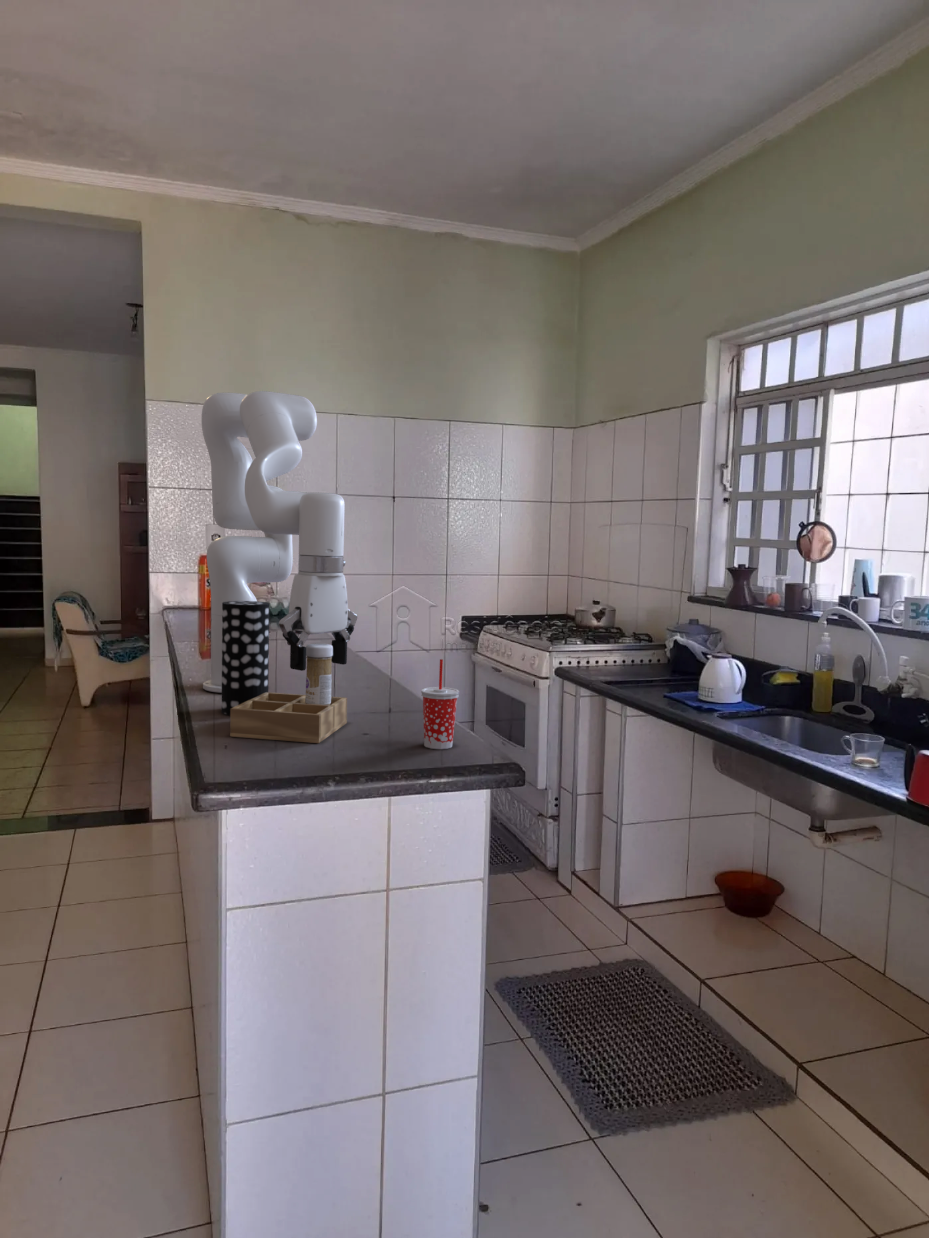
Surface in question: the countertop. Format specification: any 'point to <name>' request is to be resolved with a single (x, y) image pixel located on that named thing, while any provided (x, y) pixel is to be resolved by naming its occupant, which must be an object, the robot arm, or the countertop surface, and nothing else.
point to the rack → (287, 718)
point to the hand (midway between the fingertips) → (318, 666)
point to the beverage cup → (439, 714)
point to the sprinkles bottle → (318, 674)
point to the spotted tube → (244, 652)
